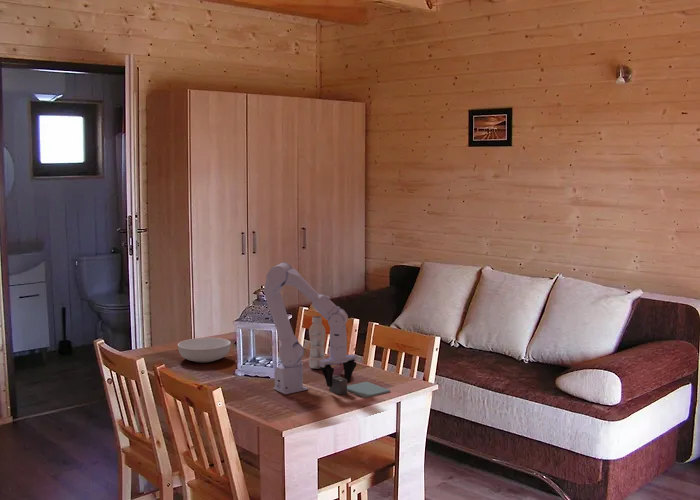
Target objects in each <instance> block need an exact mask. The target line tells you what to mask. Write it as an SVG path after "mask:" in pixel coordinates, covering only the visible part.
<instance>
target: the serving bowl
mask: <svg viewBox="0 0 700 500" xmlns="http://www.w3.org/2000/svg"><path fill="white" fill-rule="evenodd" d="M231 346H232V342H231V341H230V340H228V339H227V338H226V339H225V338H219V337H199V338H198V337H197V338H196V337H195V338H190V339H185V340H182V341H179V342H178V343H177V349H178V352H179V354H180V356H181V357H182V358H183V359H185V360H188V361H191V362H195V363H200V364H201V363H212V362H215V361H218V360H222V359H223V358H224V357H226V356H227V355H228V353H229V352H230V350H231Z"/></svg>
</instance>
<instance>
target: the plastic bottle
mask: <svg viewBox="0 0 700 500" xmlns="http://www.w3.org/2000/svg"><path fill="white" fill-rule="evenodd" d="M322 322H323V316H322V315H316V316H315V315H314V316H312V320H311V323H312V324H311V325H310V326H309V329H308V336H309V345H310V350H309V357H308V358H309V359H308V365H309V367H310V368H311V369H314V370H319V369H320V370H321V368H320V366H319V361H321V360H324V359H326V356H325V338H326V332H327V331H326V327H325V326H324V324H323V323H322Z"/></svg>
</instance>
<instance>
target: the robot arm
mask: <svg viewBox="0 0 700 500" xmlns="http://www.w3.org/2000/svg"><path fill="white" fill-rule="evenodd" d="M265 277H266V280H265V285H264V290H263V293H264V296H265V297H264V298H265V300H266V303H267V305H268V308H269V311H270V314H271V317H272V320H273V323H274V327H275V329H276V333H277V337H278V339H279V345H278V346H279V351H280V355H279V359H280V362H281V365H280V366H278V367H277V366H276V368H275V369H274V387H273V390H275V391H277V392H279V393H281V394H283V395H289V394H292V393H294V394H295V393H298V392H302V391H304V392H305V391H308V390H309V388H308V387H306V386H304V378H303V377H304V374H303V373H304V372H303V371H304V369H303V366H304V365H303V361H302V358H303V357H304V354H305V348H304V347H303V345H302V344H301V343H300V341H299V338H297V336H296V335H295V334H294V330H293V328H292V325H291V322H290V318H289V316H288V313H287V309H286V307H285V304H284V301H283V297H282V295H281V290H282V289H283V288H284V285H285V286H291V287H295V288H296V289H297V290H298V291H300V292H301V293H302V294H303V295H304V296H306V298H307V299H309V300H310V301H311V302H312V307H313V308H314V310H315V311H317V313H318V314H320V316H321V317H322V318H324V319H325V320H327V324H328V326H329V357H327V358H325V359H324V360H321V361H319V366H320V368H321V369H320V370H321V372H322V373H323V376H324V379H325V380H326V383H325V384H326V386H327V387H332V377H333V371H334V367H332V366H335V365H337V364H339V363H343V366H344V370H343V371H344V373H343V375H344V377H343V378H345V379H347V384H350V383H351V381H352V380H351V379H352V375H353V373H354V370H355V368H356V366H357V361H358V355H357V354H354V353H353V354H352V353H351V354H348V353H347V350H348V349H347V344H348V342H347V338H348V337H347V335H348V333H347V324H346V323H348V320H349V316H348V314H347V312H346V311H345V309H343V308H341V307H340V306H339V305H336V304H335V303H334V302H333V301H332V300H331V297H330V296H329V295H325V294H321V293H320V294H319V292H318V291H316V290H315V288H314V287H312V285H311V284H310V283H309V282H308V281H307V280H306V279H305V277H303V276H302V275H301V274H300V273H299V271H298V270H297V269H295V268H294V267H293V266H292V265H291V264H290V263H288V262H281V263H278V264H277V265H274V266H272V267H271V268H270V269H269V271H268V272H267V274H266V275H265Z"/></svg>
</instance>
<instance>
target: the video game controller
mask: <svg viewBox="0 0 700 500" xmlns="http://www.w3.org/2000/svg"><path fill="white" fill-rule="evenodd" d="M333 368H334V371H333V375H337V376H340V377H341V375H344V366H343V363H339V364H336V366H335V365H334V367H333Z"/></svg>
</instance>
